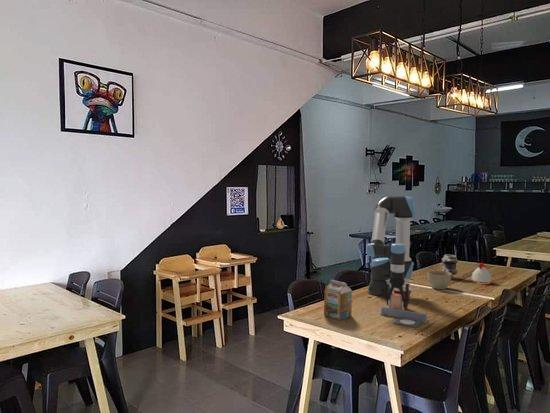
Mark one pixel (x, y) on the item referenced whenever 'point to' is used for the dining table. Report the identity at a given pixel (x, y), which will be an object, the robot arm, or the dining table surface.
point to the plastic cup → (397, 291)
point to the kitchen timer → (481, 275)
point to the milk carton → (337, 300)
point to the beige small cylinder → (396, 301)
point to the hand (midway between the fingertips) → (396, 311)
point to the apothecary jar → (449, 264)
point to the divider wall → (404, 314)
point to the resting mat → (407, 322)
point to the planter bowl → (439, 279)
